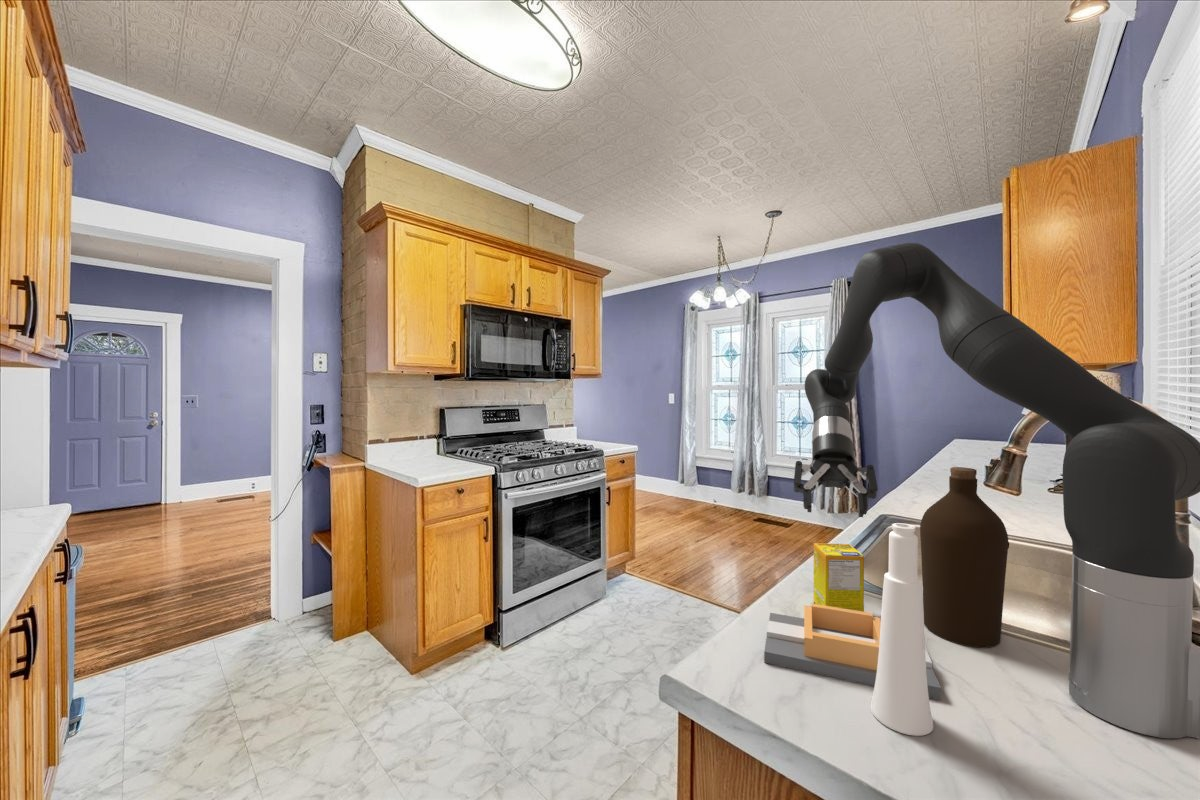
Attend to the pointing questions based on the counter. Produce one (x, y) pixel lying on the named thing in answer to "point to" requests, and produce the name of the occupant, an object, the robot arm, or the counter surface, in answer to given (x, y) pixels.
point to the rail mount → (832, 645)
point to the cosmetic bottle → (902, 642)
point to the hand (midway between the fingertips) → (835, 512)
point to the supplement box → (838, 576)
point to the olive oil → (963, 565)
